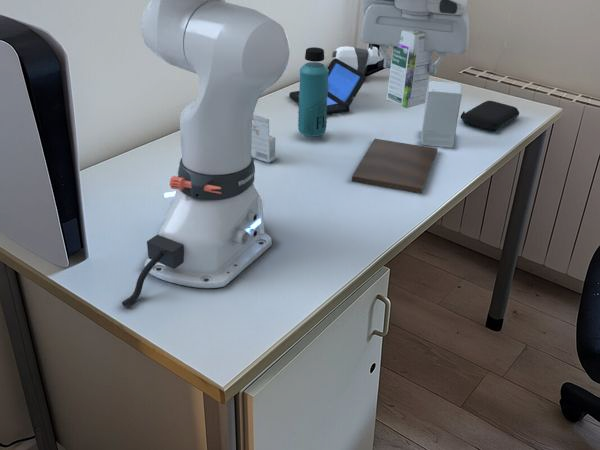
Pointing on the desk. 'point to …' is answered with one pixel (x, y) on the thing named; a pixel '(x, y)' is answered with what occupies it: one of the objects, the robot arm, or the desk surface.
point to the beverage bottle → (313, 94)
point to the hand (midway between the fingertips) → (410, 70)
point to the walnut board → (396, 165)
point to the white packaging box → (441, 114)
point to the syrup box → (409, 70)
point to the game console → (339, 87)
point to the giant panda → (358, 56)
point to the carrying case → (490, 116)
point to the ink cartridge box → (262, 140)
